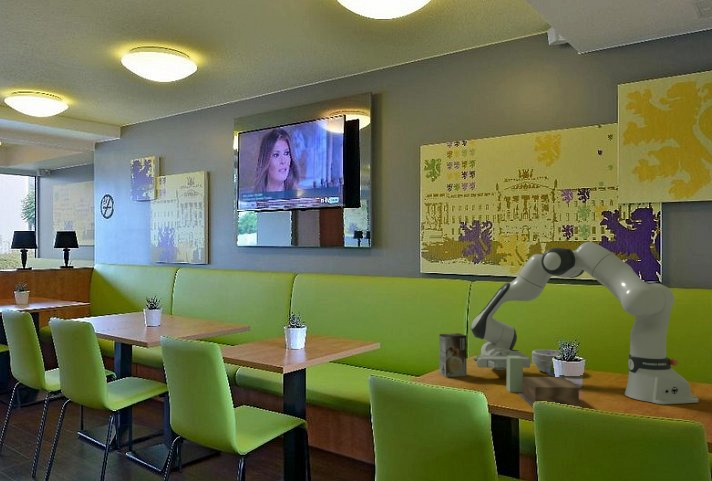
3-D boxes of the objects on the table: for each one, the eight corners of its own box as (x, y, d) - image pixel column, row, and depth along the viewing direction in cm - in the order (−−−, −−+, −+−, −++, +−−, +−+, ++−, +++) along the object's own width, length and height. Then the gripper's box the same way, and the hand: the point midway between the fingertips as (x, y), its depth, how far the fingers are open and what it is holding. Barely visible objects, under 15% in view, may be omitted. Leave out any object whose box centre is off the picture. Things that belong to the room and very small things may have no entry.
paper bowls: (565, 367, 239) (565, 349, 239) (575, 376, 224) (575, 356, 224) (528, 366, 241) (528, 348, 241) (536, 375, 226) (536, 355, 226)
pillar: (518, 389, 204) (519, 355, 204) (522, 392, 199) (522, 358, 199) (506, 388, 204) (506, 355, 204) (509, 392, 199) (510, 358, 199)
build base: (564, 394, 196) (564, 376, 196) (583, 408, 180) (583, 388, 180) (518, 394, 196) (518, 376, 196) (533, 407, 180) (533, 387, 180)
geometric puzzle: (570, 378, 212) (564, 358, 217) (553, 378, 211) (547, 358, 216) (562, 385, 217) (556, 366, 222) (546, 386, 216) (540, 366, 221)
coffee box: (459, 372, 229) (460, 332, 229) (466, 376, 222) (467, 335, 222) (438, 373, 226) (439, 333, 226) (445, 377, 220) (445, 336, 220)
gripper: (472, 350, 224) (480, 357, 210) (523, 350, 224) (535, 357, 210) (472, 366, 224) (480, 374, 210) (523, 366, 224) (534, 374, 210)
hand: (508, 365), depth 210 cm, fingers open, 8 cm apart
